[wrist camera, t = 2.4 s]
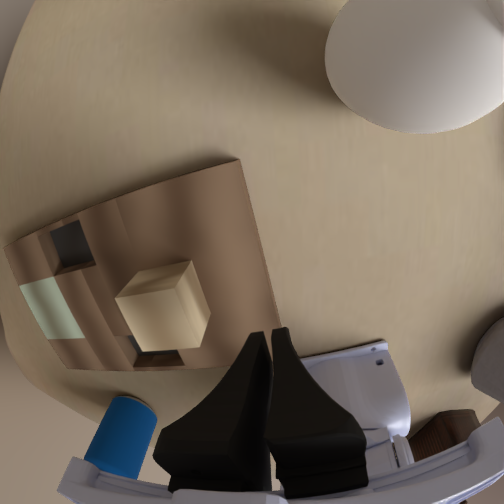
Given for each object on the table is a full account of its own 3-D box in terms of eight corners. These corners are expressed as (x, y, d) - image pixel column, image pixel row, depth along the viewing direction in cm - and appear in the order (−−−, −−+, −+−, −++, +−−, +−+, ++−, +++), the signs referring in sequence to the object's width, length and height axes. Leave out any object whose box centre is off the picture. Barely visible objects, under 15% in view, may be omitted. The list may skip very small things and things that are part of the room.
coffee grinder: (439, 443, 33) (462, 516, 17) (398, 447, 33) (418, 535, 16) (495, 387, 27) (536, 465, 11) (461, 387, 27) (506, 486, 10)
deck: (239, 159, 19) (236, 161, 17) (285, 343, 24) (286, 358, 22) (14, 241, 22) (3, 248, 21) (74, 358, 28) (66, 368, 26)
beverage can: (124, 417, 32) (97, 482, 21) (107, 388, 30) (70, 458, 19) (164, 424, 31) (141, 496, 20) (149, 395, 29) (117, 476, 18)
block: (191, 260, 19) (174, 288, 16) (210, 313, 21) (199, 347, 17) (138, 271, 20) (114, 298, 16) (159, 320, 22) (142, 351, 18)
